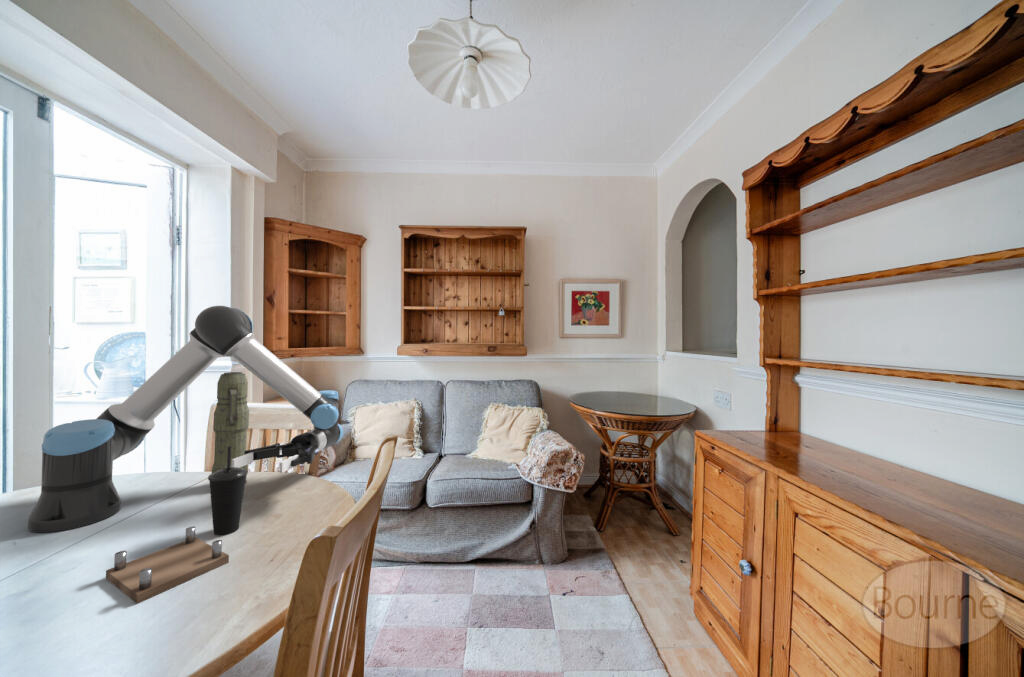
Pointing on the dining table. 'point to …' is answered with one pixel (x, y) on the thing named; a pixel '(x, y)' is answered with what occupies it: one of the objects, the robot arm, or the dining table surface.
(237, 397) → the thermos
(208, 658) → the dining table surface
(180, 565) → the peg board
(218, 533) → the drinking cup
